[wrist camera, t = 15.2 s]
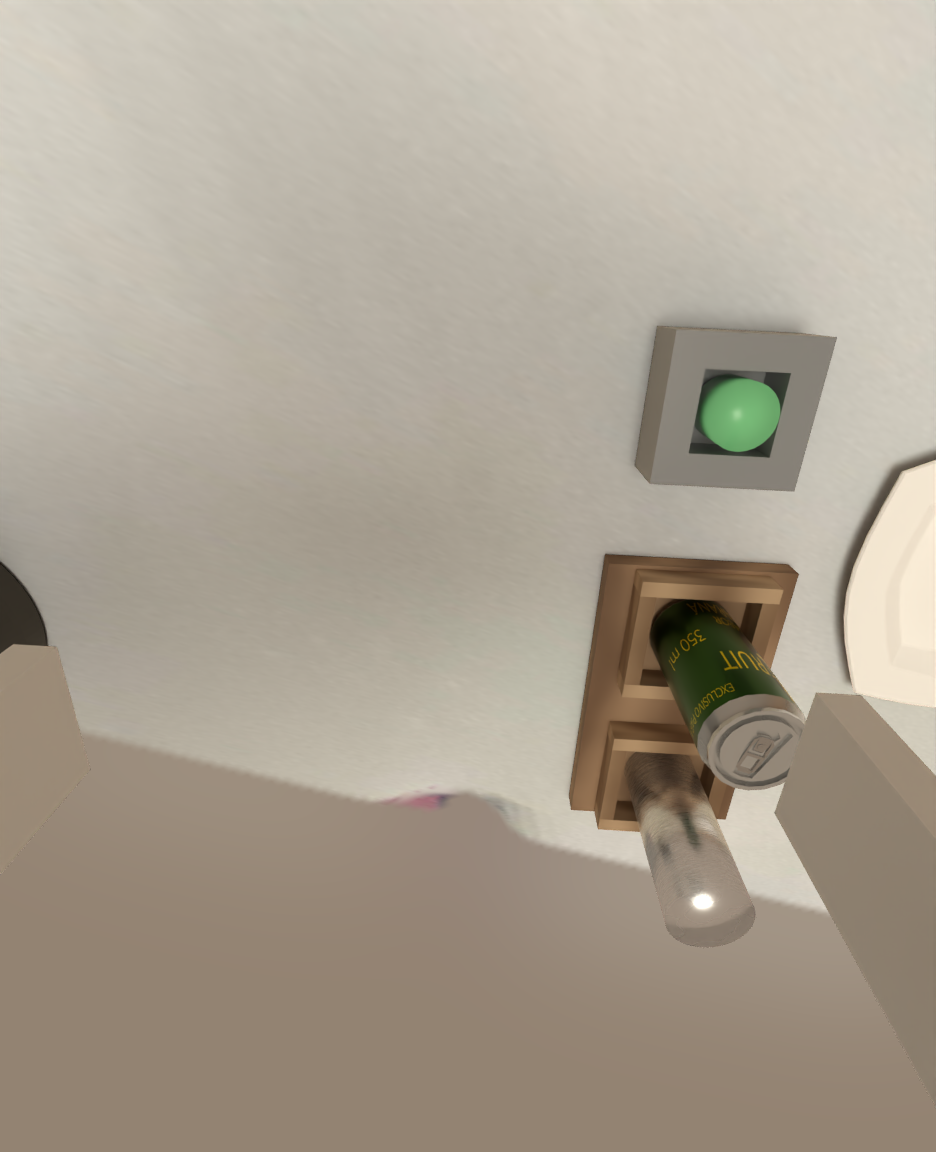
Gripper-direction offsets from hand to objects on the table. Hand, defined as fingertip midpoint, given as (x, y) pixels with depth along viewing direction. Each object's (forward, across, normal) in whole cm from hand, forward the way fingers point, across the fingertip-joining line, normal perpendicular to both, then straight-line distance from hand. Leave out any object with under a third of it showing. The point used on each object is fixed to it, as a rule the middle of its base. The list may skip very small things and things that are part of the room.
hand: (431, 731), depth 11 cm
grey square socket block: (+29, +14, +2) cm, 32 cm away
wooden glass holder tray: (+29, +15, -18) cm, 37 cm away
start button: (+27, +14, +2) cm, 30 cm away
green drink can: (+27, +15, -12) cm, 33 cm away
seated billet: (+27, +15, -24) cm, 39 cm away
